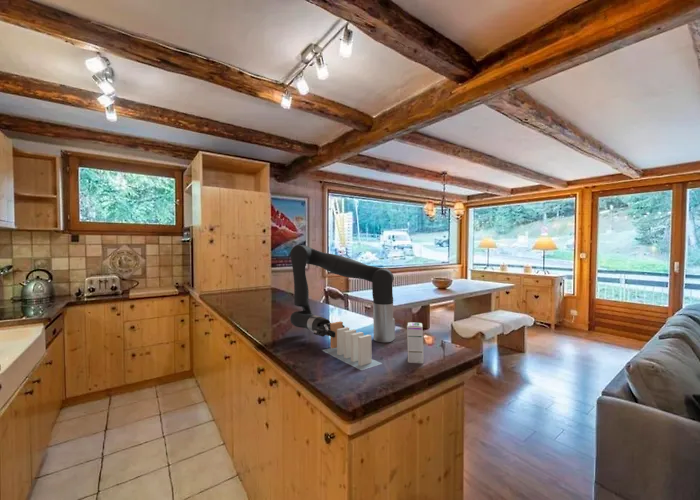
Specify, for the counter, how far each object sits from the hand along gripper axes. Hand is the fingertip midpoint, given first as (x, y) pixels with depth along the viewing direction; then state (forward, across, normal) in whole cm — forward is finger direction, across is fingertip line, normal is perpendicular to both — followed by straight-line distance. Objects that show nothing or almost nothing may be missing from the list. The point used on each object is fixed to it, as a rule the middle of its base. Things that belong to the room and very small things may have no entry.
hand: (340, 333), depth 123 cm
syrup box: (+24, +17, +8) cm, 31 cm away
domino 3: (+6, 0, +7) cm, 10 cm away
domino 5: (+15, 0, +7) cm, 17 cm away
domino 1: (-3, 0, +6) cm, 7 cm away
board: (+6, 0, +8) cm, 11 cm away
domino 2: (+2, 0, +8) cm, 8 cm away
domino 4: (+11, 0, +7) cm, 13 cm away
